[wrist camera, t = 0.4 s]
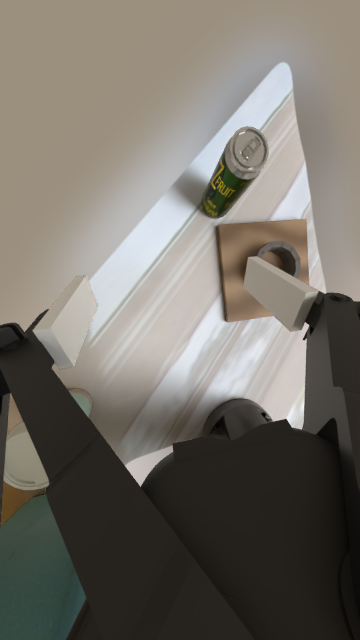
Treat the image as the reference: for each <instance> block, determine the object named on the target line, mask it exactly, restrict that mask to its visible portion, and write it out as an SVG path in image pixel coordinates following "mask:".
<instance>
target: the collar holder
mask: <svg viewBox="0 0 360 640" xmlns="http://www.w3.org/2000/svg"><path fill="white" fill-rule="evenodd" d="M217 232H218V242H219V253H220V263H221V274H222V284H223V295H224V306H225V316H226V322H234V321H241V320H247V319H254V318H261V317H268V316H273V315H272V314H271V313H270V312H269V311H268V310H267V309H266V308H265V307H264V306H263V305H261V304H260V303H259V302H258V301H257V300H256V299H255V298H254V297H253V296H252V295H251V294H250V293H249V292H248V291H247V290H246V289H244V288H243V284H244V278H245V273H246V267H247V261H248V257H255V256H257V257H259V258H261V259H262V260H264V261H266V262H268V263H270V264H271V265H273V266H275V267H277V268H279V269H280V270H282V271H284V272H286V273H288V274H289V275H291V276H293V277H295V278H297V279H298V280H300V281H302V282H304V283H306V284H308V285H309V271H308V247H307V222H306V219H301V220H286V221H271V222H256V223H241V224H226V225H219V226H218V227H217Z"/></svg>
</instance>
